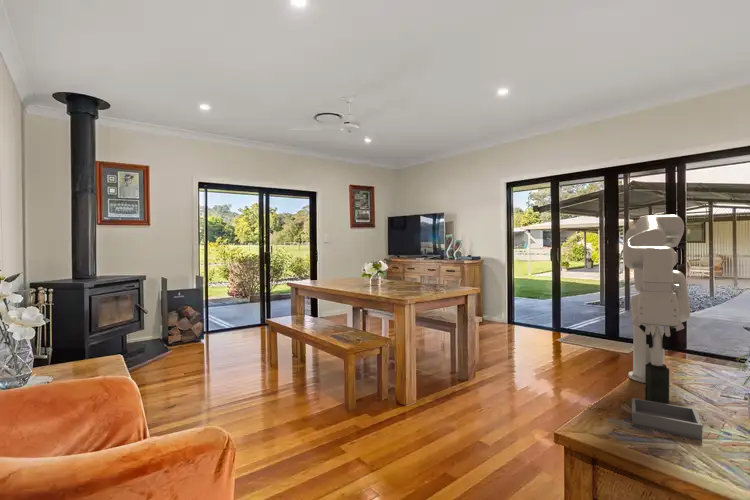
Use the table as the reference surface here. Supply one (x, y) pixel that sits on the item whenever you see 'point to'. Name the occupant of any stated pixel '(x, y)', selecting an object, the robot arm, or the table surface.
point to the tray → (666, 418)
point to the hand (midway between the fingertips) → (657, 347)
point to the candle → (657, 373)
